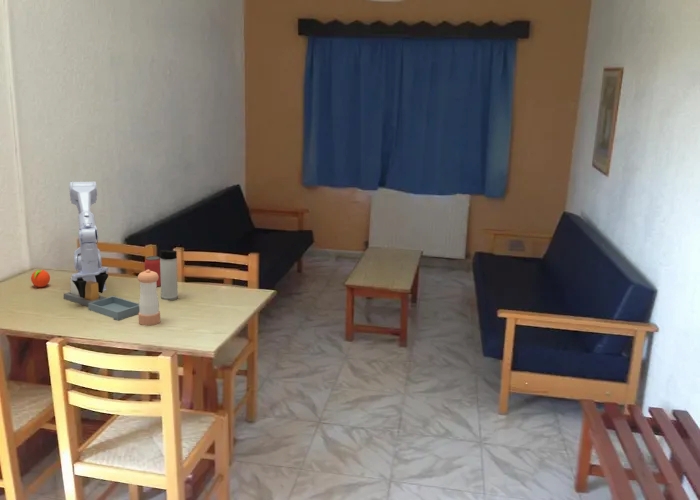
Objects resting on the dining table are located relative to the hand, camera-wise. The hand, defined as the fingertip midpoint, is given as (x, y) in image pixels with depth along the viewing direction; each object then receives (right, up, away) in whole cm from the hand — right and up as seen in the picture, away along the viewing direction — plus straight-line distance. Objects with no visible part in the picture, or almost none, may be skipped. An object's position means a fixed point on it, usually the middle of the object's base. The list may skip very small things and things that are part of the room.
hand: (91, 294), depth 235 cm
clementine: (-28, +2, +18) cm, 33 cm away
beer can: (+15, +2, +27) cm, 31 cm away
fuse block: (-4, -3, +3) cm, 5 cm away
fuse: (-7, -2, +5) cm, 9 cm away
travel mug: (+26, -3, +11) cm, 28 cm away
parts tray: (+11, -6, -6) cm, 14 cm away
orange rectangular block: (0, -3, +1) cm, 3 cm away
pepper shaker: (+26, -9, -14) cm, 31 cm away
